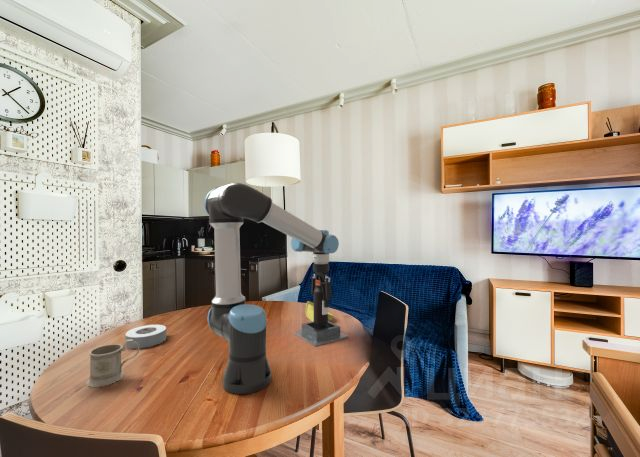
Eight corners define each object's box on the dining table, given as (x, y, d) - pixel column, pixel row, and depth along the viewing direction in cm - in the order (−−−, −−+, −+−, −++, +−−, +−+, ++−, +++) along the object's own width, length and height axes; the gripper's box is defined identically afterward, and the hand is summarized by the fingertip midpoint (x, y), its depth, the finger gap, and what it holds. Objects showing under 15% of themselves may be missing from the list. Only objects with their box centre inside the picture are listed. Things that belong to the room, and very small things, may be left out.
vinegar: (328, 321, 133) (329, 279, 133) (327, 325, 127) (327, 281, 127) (314, 320, 134) (315, 278, 135) (312, 324, 128) (312, 281, 128)
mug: (79, 389, 85) (80, 350, 85) (95, 373, 95) (96, 338, 95) (133, 382, 89) (134, 344, 90) (143, 368, 99) (144, 334, 99)
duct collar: (314, 346, 118) (314, 335, 118) (294, 333, 133) (294, 323, 133) (347, 337, 128) (348, 327, 128) (325, 326, 143) (325, 316, 143)
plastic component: (335, 316, 152) (321, 311, 147) (330, 329, 151) (315, 324, 146) (319, 305, 169) (305, 300, 165) (313, 316, 168) (300, 311, 164)
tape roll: (153, 349, 115) (153, 336, 115) (116, 349, 115) (116, 336, 115) (172, 335, 130) (173, 324, 130) (140, 335, 130) (140, 324, 130)
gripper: (303, 261, 137) (303, 308, 136) (326, 265, 121) (326, 319, 121) (316, 260, 141) (316, 306, 141) (339, 264, 125) (339, 316, 125)
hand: (320, 312), depth 131 cm, fingers closed on vinegar, 6 cm apart
